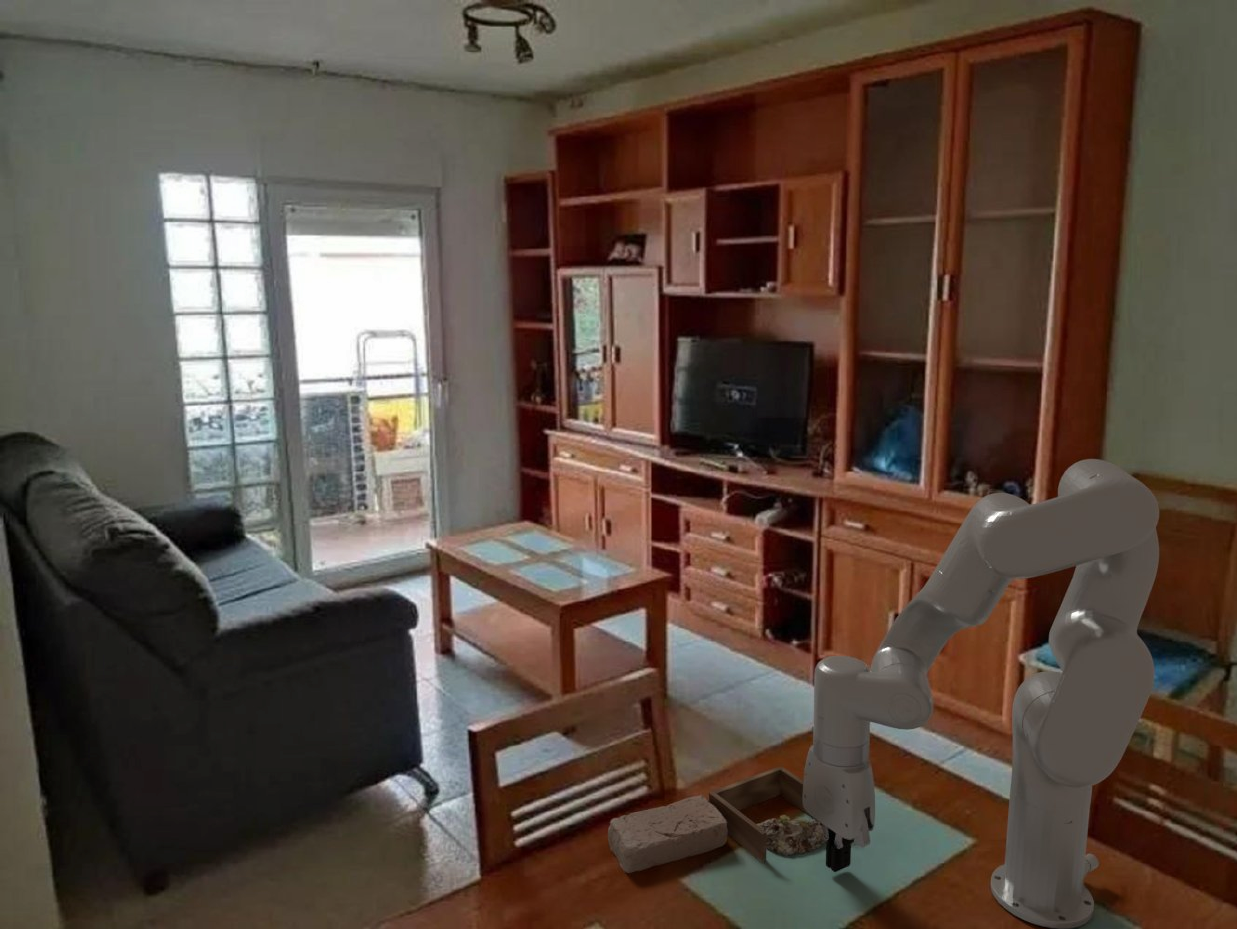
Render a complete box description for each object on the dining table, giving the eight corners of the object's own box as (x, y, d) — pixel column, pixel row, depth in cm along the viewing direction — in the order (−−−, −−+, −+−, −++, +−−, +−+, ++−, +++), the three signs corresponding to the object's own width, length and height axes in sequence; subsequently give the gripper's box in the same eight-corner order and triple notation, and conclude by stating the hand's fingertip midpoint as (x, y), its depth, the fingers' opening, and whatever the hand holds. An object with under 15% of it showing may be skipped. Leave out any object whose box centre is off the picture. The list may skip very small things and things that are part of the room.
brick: (627, 877, 128) (627, 847, 127) (605, 844, 135) (605, 815, 134) (729, 849, 134) (730, 820, 133) (703, 819, 141) (703, 792, 140)
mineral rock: (762, 847, 130) (754, 803, 137) (759, 867, 132) (751, 823, 139) (836, 847, 130) (824, 803, 138) (832, 868, 132) (820, 823, 140)
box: (780, 791, 148) (780, 766, 147) (836, 830, 137) (837, 803, 136) (708, 818, 141) (708, 792, 140) (761, 862, 130) (762, 834, 129)
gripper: (784, 732, 128) (782, 847, 132) (860, 779, 115) (857, 906, 119) (823, 718, 132) (821, 831, 135) (902, 763, 119) (897, 886, 123)
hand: (838, 866), depth 127 cm, fingers closed
